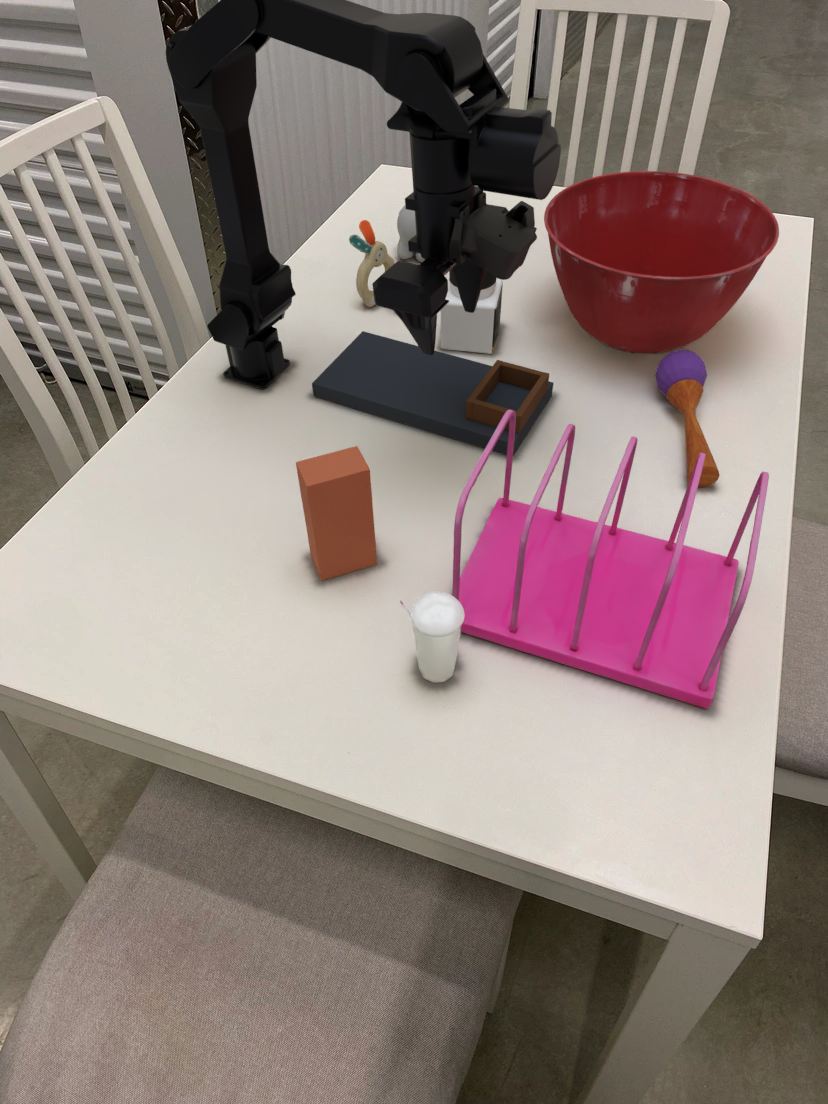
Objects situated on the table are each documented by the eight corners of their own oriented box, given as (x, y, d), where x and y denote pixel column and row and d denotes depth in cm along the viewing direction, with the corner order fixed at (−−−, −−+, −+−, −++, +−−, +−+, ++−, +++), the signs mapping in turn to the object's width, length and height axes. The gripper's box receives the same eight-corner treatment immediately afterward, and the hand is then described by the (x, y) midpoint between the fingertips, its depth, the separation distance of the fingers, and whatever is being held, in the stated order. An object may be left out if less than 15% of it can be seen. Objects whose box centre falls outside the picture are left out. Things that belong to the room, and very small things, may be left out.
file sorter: (497, 508, 89) (507, 389, 77) (735, 571, 82) (784, 451, 71) (440, 627, 78) (441, 509, 66) (708, 711, 71) (762, 596, 60)
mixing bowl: (512, 367, 107) (521, 256, 95) (555, 262, 125) (567, 157, 113) (737, 405, 100) (776, 291, 89) (748, 289, 118) (782, 181, 107)
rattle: (377, 328, 113) (373, 249, 105) (350, 301, 118) (343, 224, 110) (423, 312, 116) (423, 235, 107) (395, 287, 121) (392, 211, 112)
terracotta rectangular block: (311, 557, 84) (295, 461, 75) (365, 540, 86) (357, 445, 76) (321, 581, 82) (306, 486, 73) (377, 564, 84) (370, 469, 74)
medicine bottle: (492, 355, 108) (498, 271, 100) (440, 349, 109) (440, 266, 101) (499, 326, 113) (505, 243, 104) (449, 321, 114) (450, 238, 105)
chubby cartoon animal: (465, 274, 123) (466, 219, 116) (390, 262, 126) (388, 207, 119) (479, 252, 127) (481, 198, 121) (407, 241, 130) (406, 187, 124)
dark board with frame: (313, 396, 103) (309, 366, 100) (363, 343, 111) (361, 314, 107) (512, 457, 94) (515, 426, 91) (551, 395, 102) (555, 365, 99)
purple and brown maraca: (676, 461, 88) (652, 343, 100) (674, 497, 92) (652, 381, 104) (734, 454, 86) (703, 336, 99) (729, 492, 91) (701, 375, 103)
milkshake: (401, 650, 76) (398, 581, 69) (458, 646, 76) (461, 576, 69) (405, 692, 73) (402, 623, 66) (464, 687, 73) (468, 618, 66)
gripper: (475, 239, 67) (477, 398, 78) (565, 156, 78) (555, 306, 89) (361, 217, 71) (378, 371, 82) (461, 142, 82) (464, 286, 93)
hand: (449, 332), depth 86 cm, fingers open, 9 cm apart
